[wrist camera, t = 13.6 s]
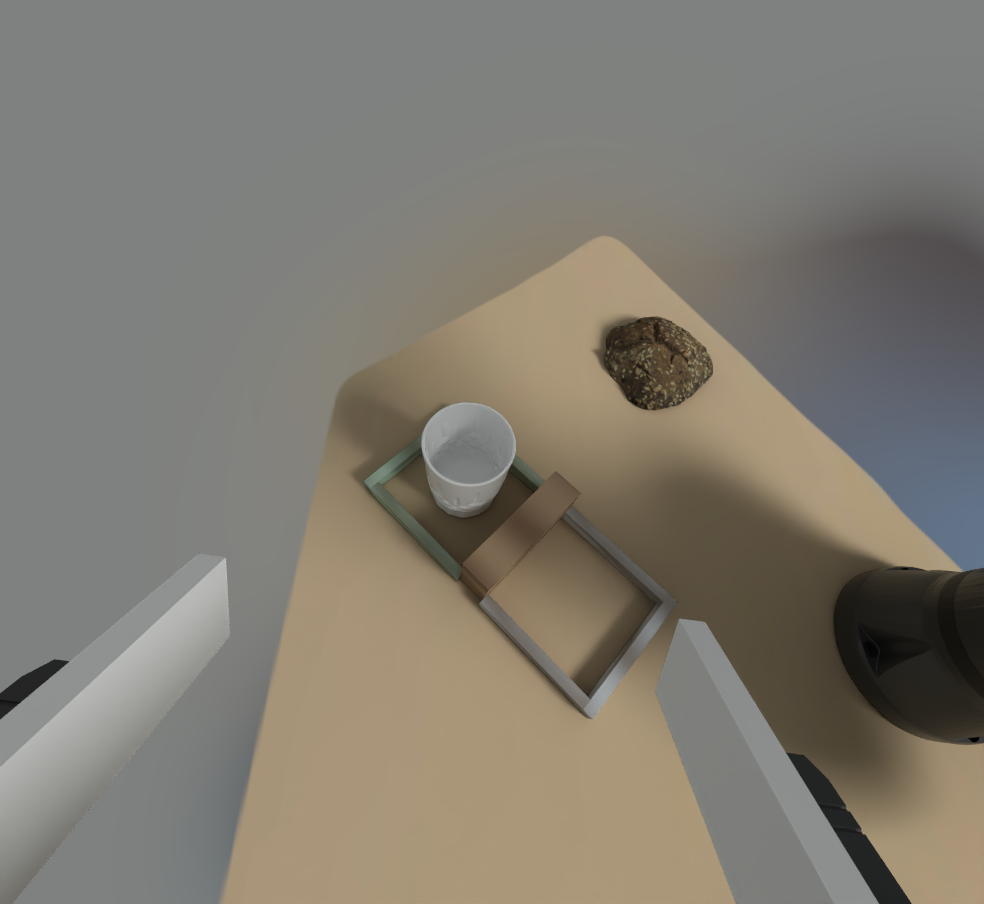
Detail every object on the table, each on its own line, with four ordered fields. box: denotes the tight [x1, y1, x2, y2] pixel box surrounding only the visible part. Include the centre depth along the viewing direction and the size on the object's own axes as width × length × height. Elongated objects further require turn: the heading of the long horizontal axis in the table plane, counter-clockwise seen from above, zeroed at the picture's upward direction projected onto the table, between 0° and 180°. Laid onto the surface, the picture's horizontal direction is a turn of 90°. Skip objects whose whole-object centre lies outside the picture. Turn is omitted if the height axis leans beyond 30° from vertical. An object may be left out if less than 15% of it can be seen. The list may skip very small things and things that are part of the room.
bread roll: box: [604, 317, 713, 410], centre depth 55 cm, size 13×12×5 cm
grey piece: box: [363, 435, 678, 719], centre depth 42 cm, size 13×29×6 cm, turn 46°
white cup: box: [421, 402, 516, 518], centre depth 42 cm, size 8×8×10 cm
